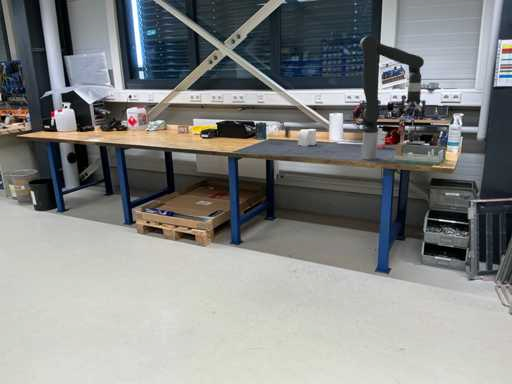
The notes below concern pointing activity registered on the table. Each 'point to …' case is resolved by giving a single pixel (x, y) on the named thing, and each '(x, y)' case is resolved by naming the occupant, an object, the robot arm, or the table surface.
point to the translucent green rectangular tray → (422, 154)
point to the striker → (410, 140)
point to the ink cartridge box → (381, 139)
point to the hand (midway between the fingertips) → (412, 117)
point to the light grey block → (307, 137)
